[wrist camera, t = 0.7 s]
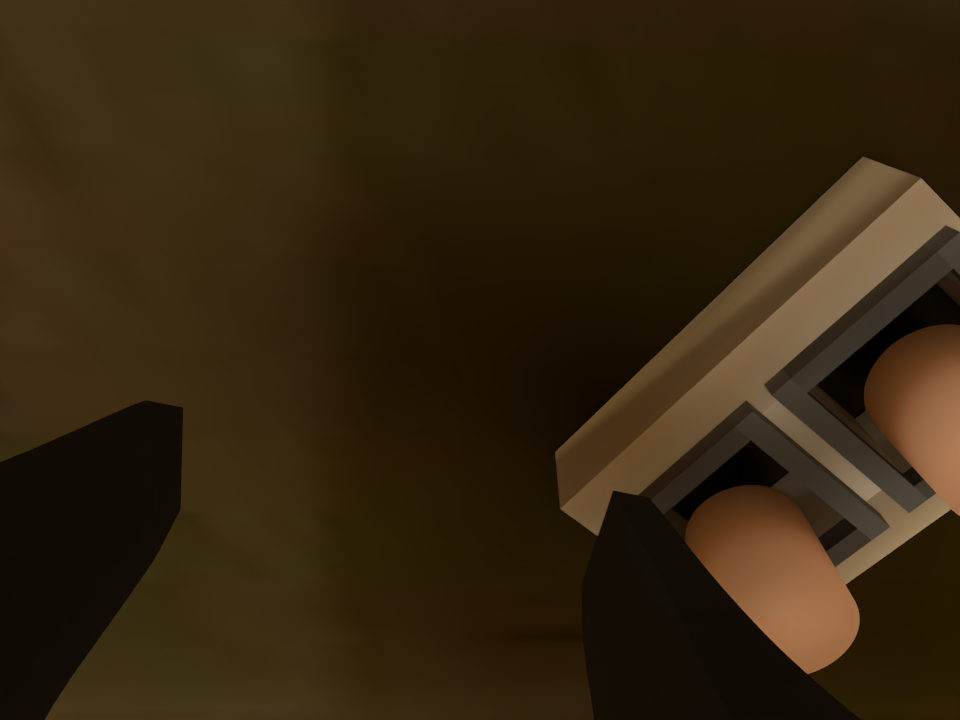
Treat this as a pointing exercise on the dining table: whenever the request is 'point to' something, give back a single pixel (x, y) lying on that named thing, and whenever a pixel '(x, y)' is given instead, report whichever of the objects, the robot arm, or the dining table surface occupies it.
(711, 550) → the peg
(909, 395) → the peg
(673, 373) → the socket block
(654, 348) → the dining table surface
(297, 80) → the dining table surface
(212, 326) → the dining table surface
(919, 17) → the dining table surface
